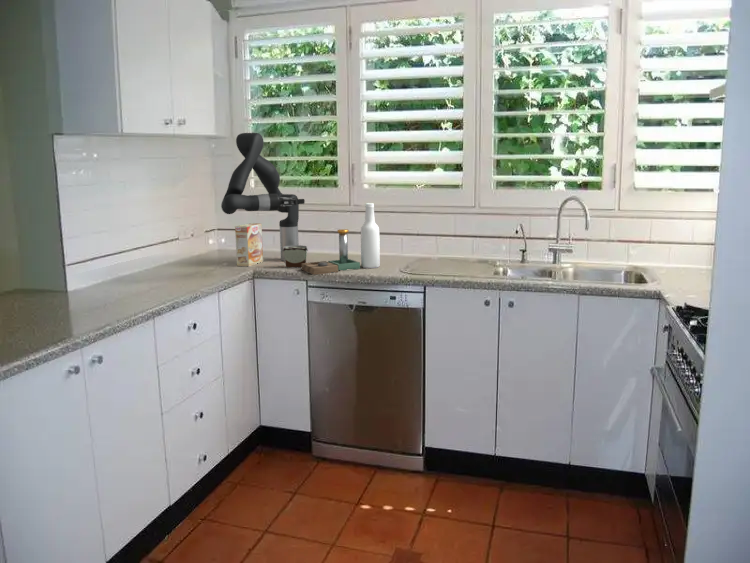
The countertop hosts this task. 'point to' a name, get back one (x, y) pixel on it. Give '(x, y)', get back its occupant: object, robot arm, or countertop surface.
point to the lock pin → (343, 245)
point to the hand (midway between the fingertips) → (301, 200)
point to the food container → (295, 255)
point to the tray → (346, 264)
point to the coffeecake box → (249, 244)
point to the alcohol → (370, 240)
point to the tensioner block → (319, 267)
